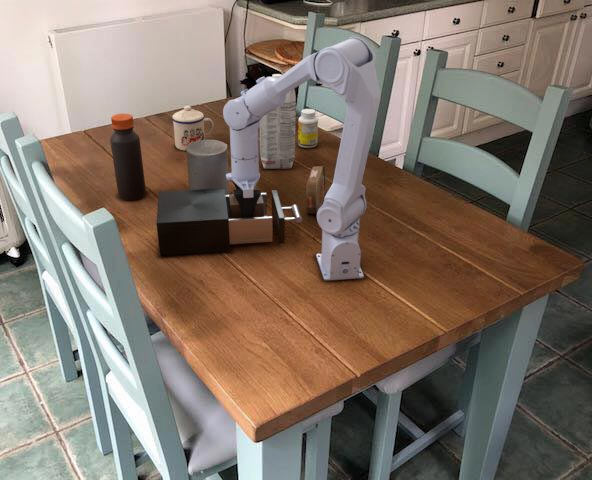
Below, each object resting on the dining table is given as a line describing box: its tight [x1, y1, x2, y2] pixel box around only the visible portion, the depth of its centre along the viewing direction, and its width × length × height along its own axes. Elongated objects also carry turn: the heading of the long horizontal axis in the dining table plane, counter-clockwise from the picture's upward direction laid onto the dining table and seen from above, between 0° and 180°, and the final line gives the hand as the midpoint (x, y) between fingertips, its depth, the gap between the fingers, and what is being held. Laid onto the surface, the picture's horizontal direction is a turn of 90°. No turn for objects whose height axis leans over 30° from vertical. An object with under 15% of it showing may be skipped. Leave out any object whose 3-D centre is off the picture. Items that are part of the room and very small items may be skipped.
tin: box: [305, 165, 326, 215], centre depth 150 cm, size 15×3×8 cm, turn 168°
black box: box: [156, 188, 231, 258], centre depth 137 cm, size 15×15×8 cm
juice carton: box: [259, 73, 297, 170], centre depth 166 cm, size 9×8×24 cm
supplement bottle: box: [297, 108, 319, 149], centre depth 180 cm, size 6×6×10 cm
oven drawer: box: [226, 189, 303, 245], centre depth 138 cm, size 18×13×6 cm
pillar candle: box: [186, 139, 230, 195], centre depth 150 cm, size 10×10×15 cm
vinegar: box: [109, 113, 147, 201], centre depth 151 cm, size 7×7×20 cm
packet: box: [229, 194, 264, 219], centre depth 136 cm, size 5×7×4 cm
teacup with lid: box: [171, 105, 215, 152], centre depth 181 cm, size 12×9×12 cm
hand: (246, 213), depth 137 cm, fingers closed on packet, 5 cm apart
